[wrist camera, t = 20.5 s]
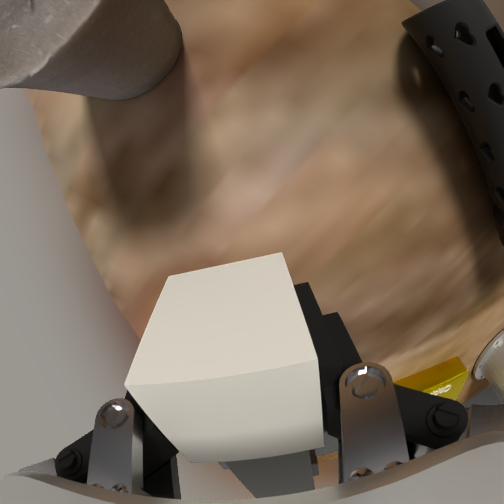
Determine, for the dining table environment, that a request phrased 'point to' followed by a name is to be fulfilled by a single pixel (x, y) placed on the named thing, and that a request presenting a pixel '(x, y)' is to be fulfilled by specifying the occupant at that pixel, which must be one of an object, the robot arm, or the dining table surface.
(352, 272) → the dining table surface
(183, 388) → the grey and white bar
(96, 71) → the pillar candle
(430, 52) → the muzzle brake
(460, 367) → the element tile
